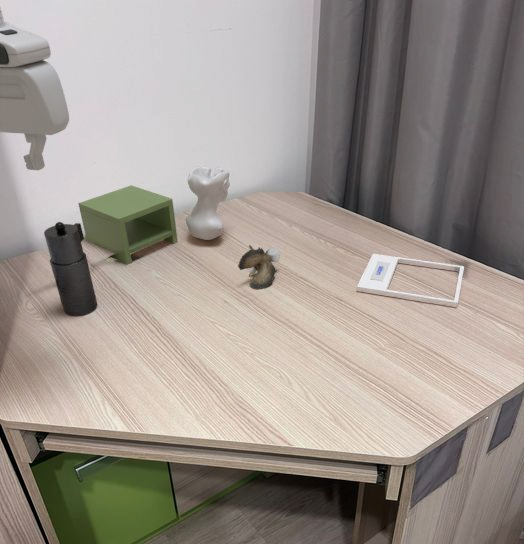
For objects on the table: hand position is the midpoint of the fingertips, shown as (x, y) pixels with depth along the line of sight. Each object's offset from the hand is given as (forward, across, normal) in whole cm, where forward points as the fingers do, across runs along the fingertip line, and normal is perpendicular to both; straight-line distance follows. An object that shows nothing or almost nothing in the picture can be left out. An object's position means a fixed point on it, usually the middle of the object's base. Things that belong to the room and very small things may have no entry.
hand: (4, 166), depth 69 cm
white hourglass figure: (+30, +8, +48) cm, 57 cm away
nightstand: (+30, -7, +40) cm, 51 cm away
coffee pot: (+30, -5, +15) cm, 34 cm away
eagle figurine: (+30, +24, +32) cm, 50 cm away
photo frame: (+30, +53, +37) cm, 71 cm away
